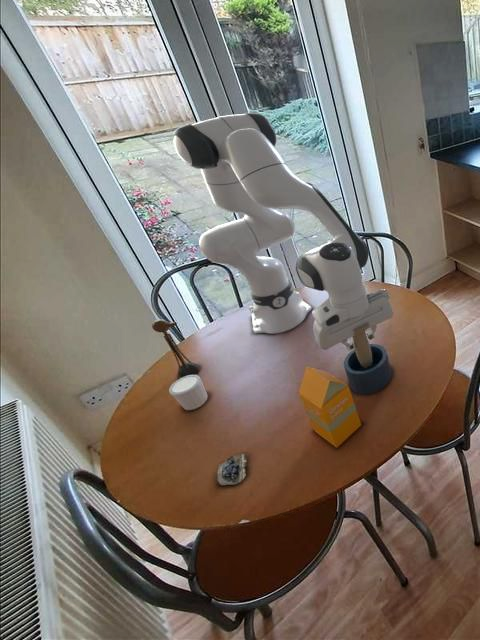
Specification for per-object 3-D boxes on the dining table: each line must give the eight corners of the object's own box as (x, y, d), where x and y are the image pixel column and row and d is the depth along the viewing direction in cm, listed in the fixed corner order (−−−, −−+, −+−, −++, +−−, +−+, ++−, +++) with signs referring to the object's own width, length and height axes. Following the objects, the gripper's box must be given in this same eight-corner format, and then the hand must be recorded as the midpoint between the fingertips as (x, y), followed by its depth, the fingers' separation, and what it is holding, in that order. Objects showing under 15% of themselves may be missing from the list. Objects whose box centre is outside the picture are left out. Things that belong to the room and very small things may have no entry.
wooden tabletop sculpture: (205, 364, 122) (175, 313, 112) (199, 375, 118) (168, 323, 108) (183, 368, 121) (151, 316, 110) (176, 379, 117) (142, 327, 106)
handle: (376, 370, 112) (365, 329, 104) (353, 371, 111) (340, 330, 103) (380, 357, 116) (370, 317, 108) (357, 358, 115) (346, 318, 108)
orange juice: (336, 448, 97) (314, 392, 87) (314, 431, 101) (290, 376, 91) (362, 424, 103) (344, 369, 93) (340, 409, 107) (320, 355, 97)
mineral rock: (243, 450, 97) (240, 445, 96) (257, 470, 93) (254, 465, 92) (212, 471, 93) (208, 466, 92) (224, 493, 88) (221, 488, 87)
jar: (343, 377, 116) (336, 357, 112) (379, 357, 123) (375, 338, 119) (361, 401, 109) (354, 381, 105) (398, 378, 116) (394, 358, 112)
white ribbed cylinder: (216, 395, 112) (206, 377, 108) (192, 415, 106) (180, 397, 103) (198, 388, 114) (188, 371, 110) (174, 408, 108) (162, 390, 105)
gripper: (381, 281, 110) (389, 320, 117) (305, 314, 98) (319, 355, 105) (392, 291, 106) (400, 330, 113) (314, 327, 94) (328, 368, 101)
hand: (360, 343), depth 109 cm, fingers closed on handle, 4 cm apart
